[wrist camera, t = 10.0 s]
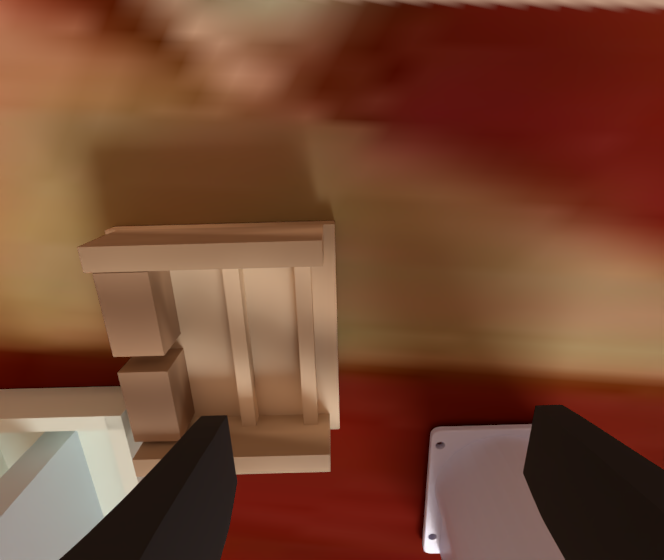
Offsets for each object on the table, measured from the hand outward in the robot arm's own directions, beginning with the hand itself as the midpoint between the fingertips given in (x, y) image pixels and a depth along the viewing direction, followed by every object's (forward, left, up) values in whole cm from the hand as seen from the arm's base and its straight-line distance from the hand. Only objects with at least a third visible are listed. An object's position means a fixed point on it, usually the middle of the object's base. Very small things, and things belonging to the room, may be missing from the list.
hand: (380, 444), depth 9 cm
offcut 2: (-5, +9, -9) cm, 14 cm away
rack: (-2, +6, -10) cm, 12 cm away
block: (-11, +16, -10) cm, 22 cm away
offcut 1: (0, +9, -9) cm, 13 cm away
